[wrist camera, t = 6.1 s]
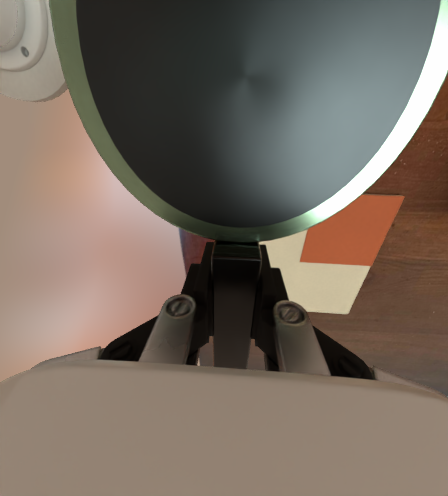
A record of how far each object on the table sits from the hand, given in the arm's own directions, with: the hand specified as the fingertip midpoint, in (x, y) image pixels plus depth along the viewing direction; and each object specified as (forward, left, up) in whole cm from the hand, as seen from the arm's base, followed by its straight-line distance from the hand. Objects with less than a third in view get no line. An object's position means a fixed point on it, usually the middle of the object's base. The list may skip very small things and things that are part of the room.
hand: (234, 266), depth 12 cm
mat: (+10, -11, -18) cm, 24 cm away
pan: (0, +4, 0) cm, 4 cm away
